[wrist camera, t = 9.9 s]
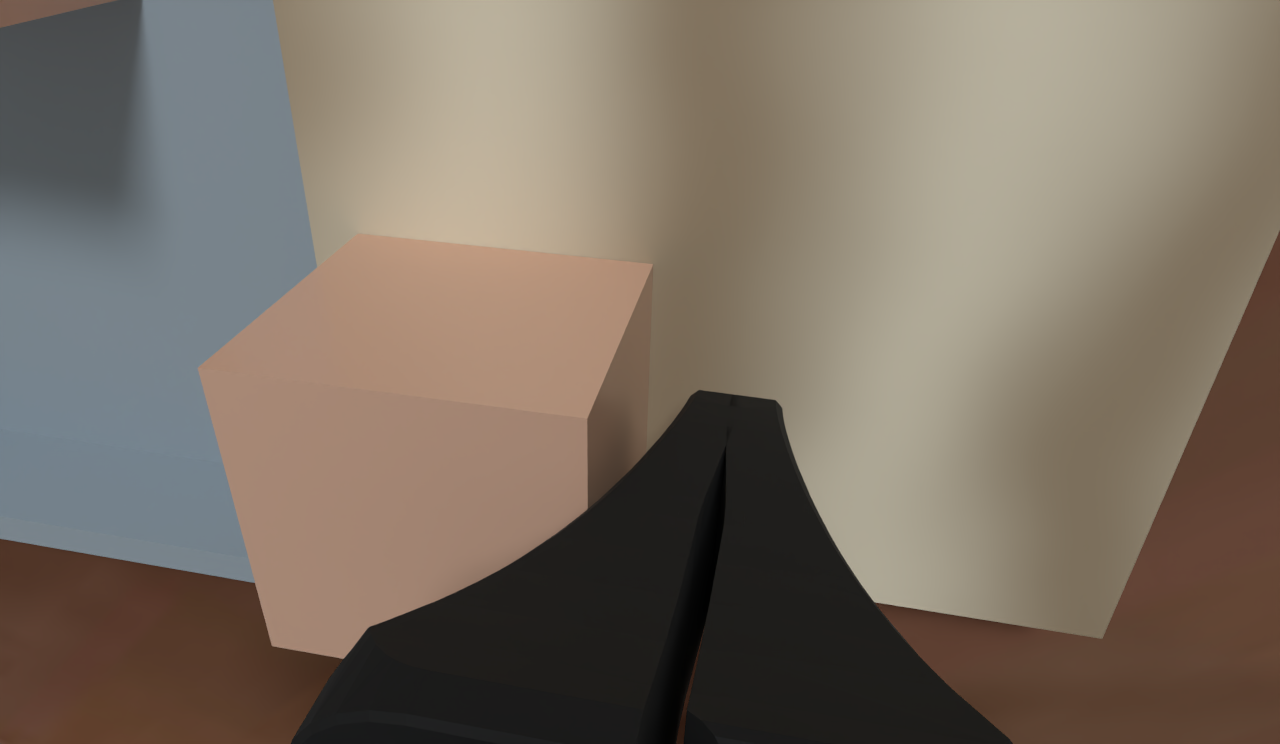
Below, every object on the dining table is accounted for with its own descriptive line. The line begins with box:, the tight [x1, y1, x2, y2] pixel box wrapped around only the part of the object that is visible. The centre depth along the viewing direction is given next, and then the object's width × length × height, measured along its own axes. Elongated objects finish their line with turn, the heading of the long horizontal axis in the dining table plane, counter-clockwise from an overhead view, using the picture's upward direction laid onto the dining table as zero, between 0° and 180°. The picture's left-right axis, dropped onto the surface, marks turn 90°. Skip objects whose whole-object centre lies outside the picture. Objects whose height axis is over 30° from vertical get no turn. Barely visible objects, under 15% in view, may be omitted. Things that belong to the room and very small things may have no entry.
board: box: [273, 0, 1280, 639], centre depth 13 cm, size 13×14×2 cm
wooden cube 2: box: [198, 234, 653, 659], centre depth 13 cm, size 4×4×4 cm
